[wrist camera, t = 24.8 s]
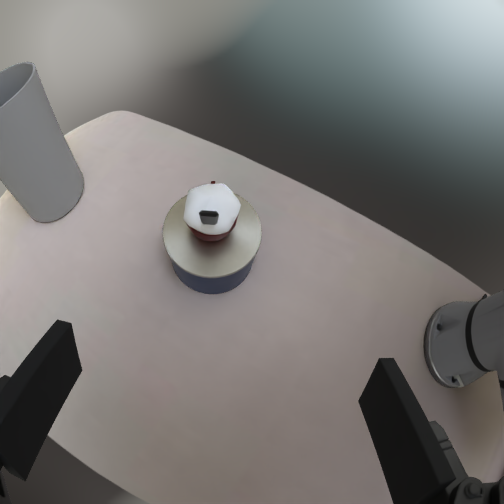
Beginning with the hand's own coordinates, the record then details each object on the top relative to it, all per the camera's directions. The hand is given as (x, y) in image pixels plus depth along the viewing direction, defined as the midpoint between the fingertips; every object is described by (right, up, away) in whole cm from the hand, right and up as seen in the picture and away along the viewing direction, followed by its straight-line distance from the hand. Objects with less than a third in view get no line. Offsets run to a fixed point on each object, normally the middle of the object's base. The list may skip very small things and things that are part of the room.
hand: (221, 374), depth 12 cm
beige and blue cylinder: (-5, +5, +34) cm, 34 cm away
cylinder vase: (-34, +15, +35) cm, 51 cm away
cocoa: (-4, +8, +26) cm, 28 cm away
